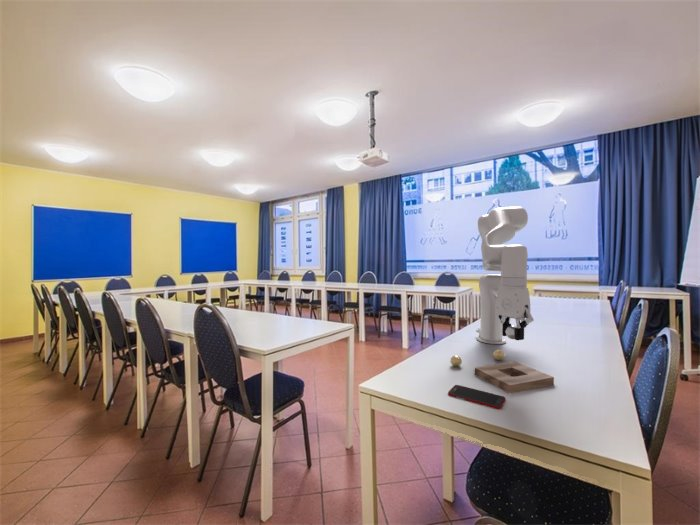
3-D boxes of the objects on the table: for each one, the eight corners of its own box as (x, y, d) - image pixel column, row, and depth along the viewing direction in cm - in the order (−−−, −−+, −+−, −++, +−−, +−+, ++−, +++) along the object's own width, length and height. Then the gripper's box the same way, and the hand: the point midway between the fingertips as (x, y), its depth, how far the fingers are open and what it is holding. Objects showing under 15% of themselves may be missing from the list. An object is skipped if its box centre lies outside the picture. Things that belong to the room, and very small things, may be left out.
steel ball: (502, 337, 103) (502, 324, 103) (512, 336, 105) (512, 323, 105) (513, 341, 99) (513, 327, 99) (523, 340, 100) (524, 326, 100)
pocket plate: (474, 374, 107) (474, 367, 106) (514, 368, 112) (514, 361, 112) (509, 393, 92) (509, 385, 92) (553, 384, 98) (553, 377, 98)
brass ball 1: (448, 365, 116) (448, 354, 115) (457, 363, 117) (457, 353, 117) (455, 369, 112) (455, 358, 112) (464, 367, 113) (464, 356, 113)
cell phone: (500, 411, 83) (501, 407, 83) (446, 396, 92) (446, 393, 92) (506, 400, 89) (506, 396, 89) (455, 387, 98) (455, 384, 98)
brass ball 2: (490, 359, 122) (491, 349, 122) (498, 357, 123) (499, 347, 123) (498, 362, 118) (498, 352, 118) (506, 361, 119) (507, 351, 119)
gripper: (485, 280, 108) (485, 332, 109) (527, 285, 92) (526, 346, 93) (502, 280, 111) (501, 330, 111) (545, 284, 95) (544, 343, 95)
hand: (512, 337), depth 102 cm, fingers closed on steel ball, 4 cm apart
